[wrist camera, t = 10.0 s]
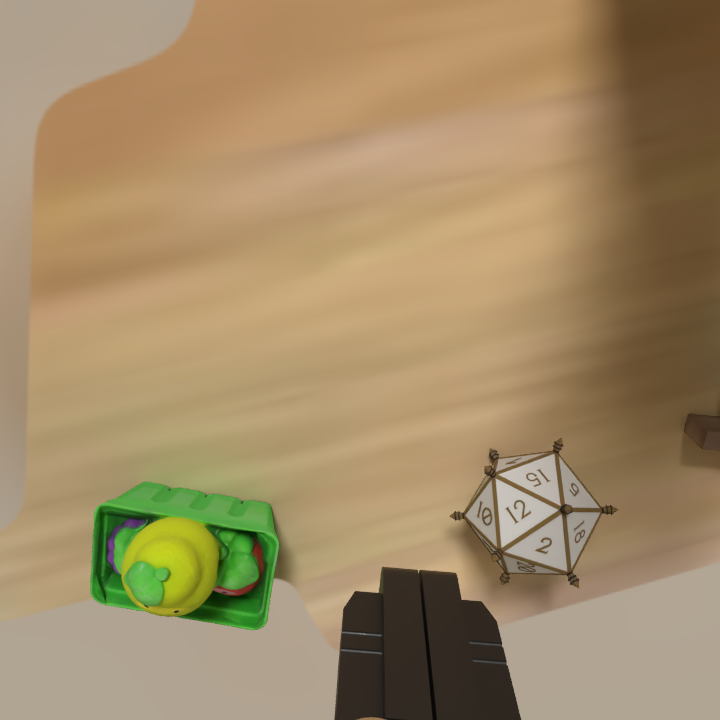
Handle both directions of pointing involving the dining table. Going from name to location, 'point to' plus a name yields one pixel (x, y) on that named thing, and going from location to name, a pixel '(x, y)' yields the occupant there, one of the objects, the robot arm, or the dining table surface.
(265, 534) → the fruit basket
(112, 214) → the dining table surface
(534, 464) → the game die
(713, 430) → the walnut bay
